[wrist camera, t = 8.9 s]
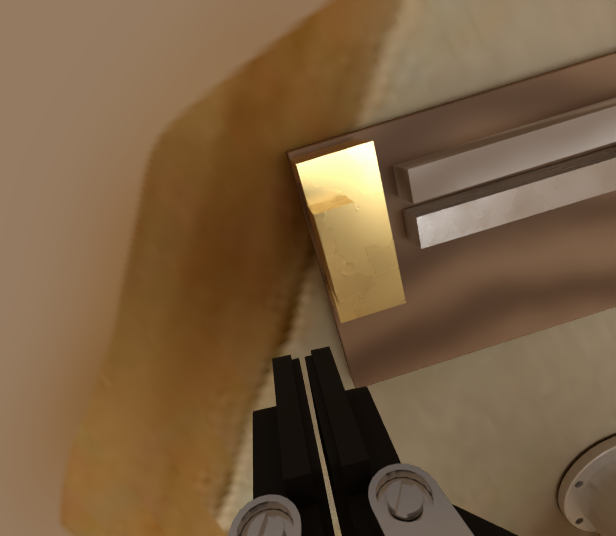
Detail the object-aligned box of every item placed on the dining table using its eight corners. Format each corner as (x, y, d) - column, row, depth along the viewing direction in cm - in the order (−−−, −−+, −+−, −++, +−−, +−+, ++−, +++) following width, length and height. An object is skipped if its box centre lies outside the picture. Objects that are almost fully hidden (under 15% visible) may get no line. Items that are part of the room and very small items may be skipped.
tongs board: (689, 269, 31) (748, 289, 27) (351, 377, 30) (364, 412, 27) (717, 20, 24) (800, 1, 21) (286, 151, 24) (291, 156, 20)
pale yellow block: (385, 279, 26) (419, 319, 20) (329, 297, 26) (348, 341, 20) (354, 138, 22) (385, 142, 17) (290, 158, 22) (300, 168, 17)
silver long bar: (695, 156, 26) (745, 159, 23) (408, 243, 25) (426, 256, 22) (700, 116, 25) (752, 114, 22) (401, 205, 24) (419, 215, 22)
